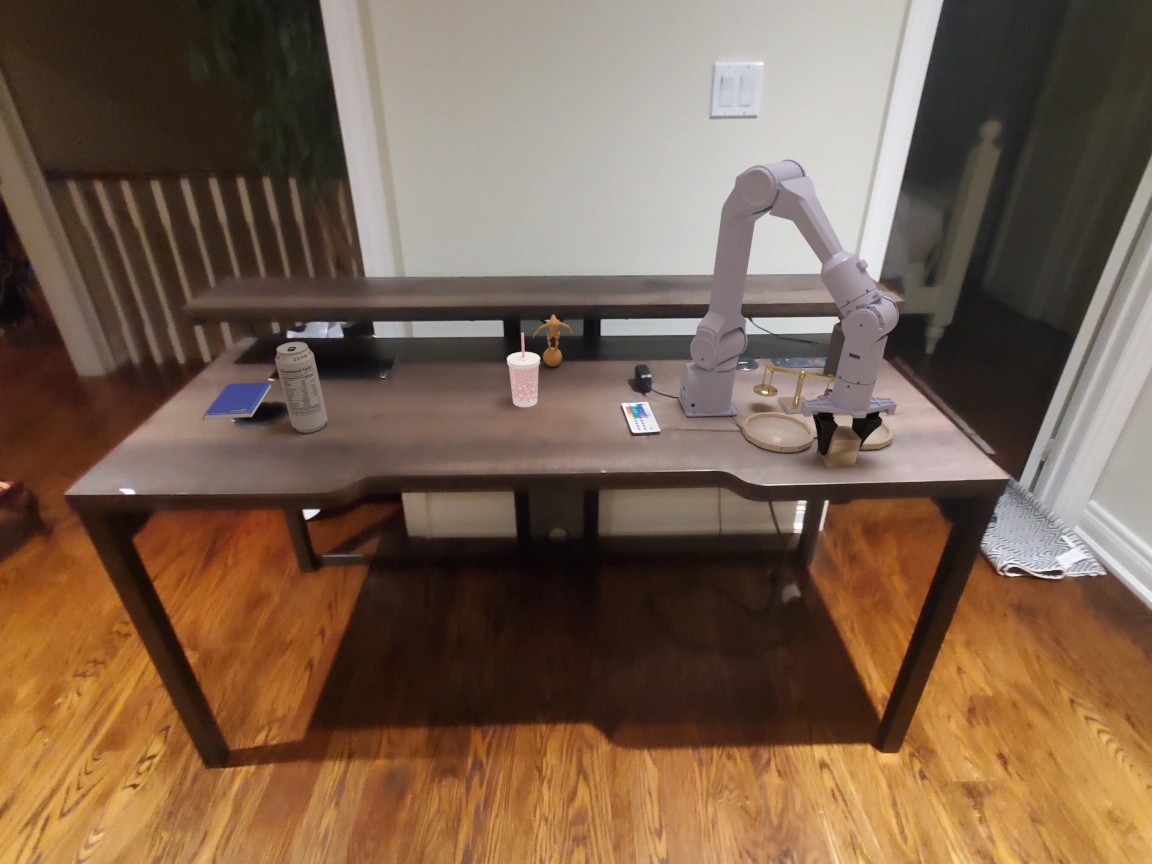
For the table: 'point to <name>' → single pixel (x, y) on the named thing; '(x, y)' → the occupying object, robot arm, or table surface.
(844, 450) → the maple block
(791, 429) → the left dish
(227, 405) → the hard drive
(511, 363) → the beverage cup
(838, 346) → the bottle
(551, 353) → the figurine
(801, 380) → the balance scale
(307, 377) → the energy drink can
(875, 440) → the right dish
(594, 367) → the table surface
